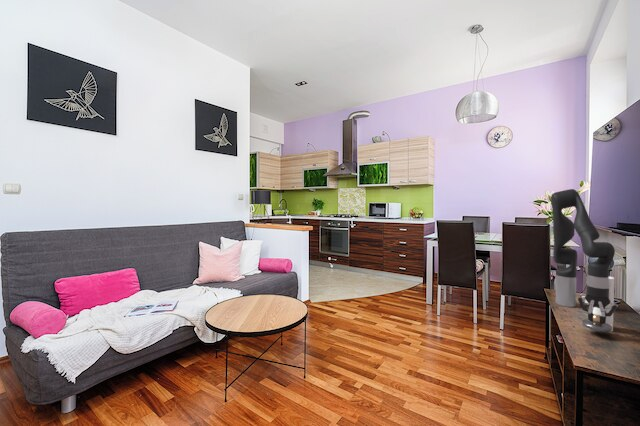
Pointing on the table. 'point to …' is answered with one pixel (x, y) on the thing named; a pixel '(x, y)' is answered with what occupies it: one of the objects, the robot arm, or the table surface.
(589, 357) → the table surface
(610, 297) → the cylindrical container
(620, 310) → the table surface
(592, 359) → the table surface
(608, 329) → the lid
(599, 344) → the table surface
